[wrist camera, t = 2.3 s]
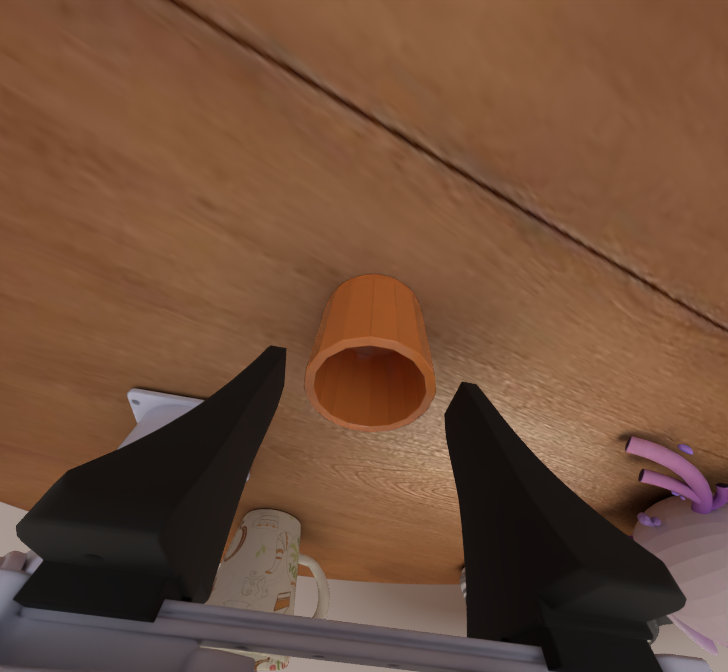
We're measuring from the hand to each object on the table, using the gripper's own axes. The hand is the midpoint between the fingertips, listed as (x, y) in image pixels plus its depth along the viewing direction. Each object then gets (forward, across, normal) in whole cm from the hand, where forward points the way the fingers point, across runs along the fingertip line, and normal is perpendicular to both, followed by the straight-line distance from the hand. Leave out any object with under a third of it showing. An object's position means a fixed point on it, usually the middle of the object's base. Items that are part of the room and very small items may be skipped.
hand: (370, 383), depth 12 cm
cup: (+5, 0, 0) cm, 5 cm away
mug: (+5, +3, +28) cm, 29 cm away
